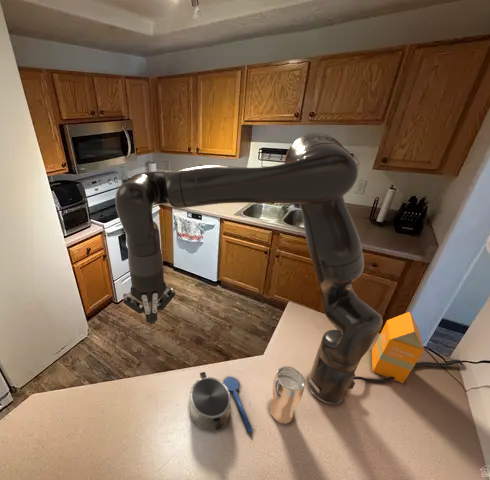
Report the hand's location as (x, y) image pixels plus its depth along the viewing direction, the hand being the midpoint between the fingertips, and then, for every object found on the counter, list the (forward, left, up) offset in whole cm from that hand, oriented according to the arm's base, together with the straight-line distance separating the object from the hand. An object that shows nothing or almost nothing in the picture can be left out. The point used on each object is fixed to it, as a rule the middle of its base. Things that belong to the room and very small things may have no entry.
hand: (152, 321), depth 66 cm
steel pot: (-13, +10, -27) cm, 32 cm away
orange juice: (-72, +10, -27) cm, 78 cm away
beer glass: (-32, +15, -27) cm, 45 cm away
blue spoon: (-22, +10, -27) cm, 36 cm away
